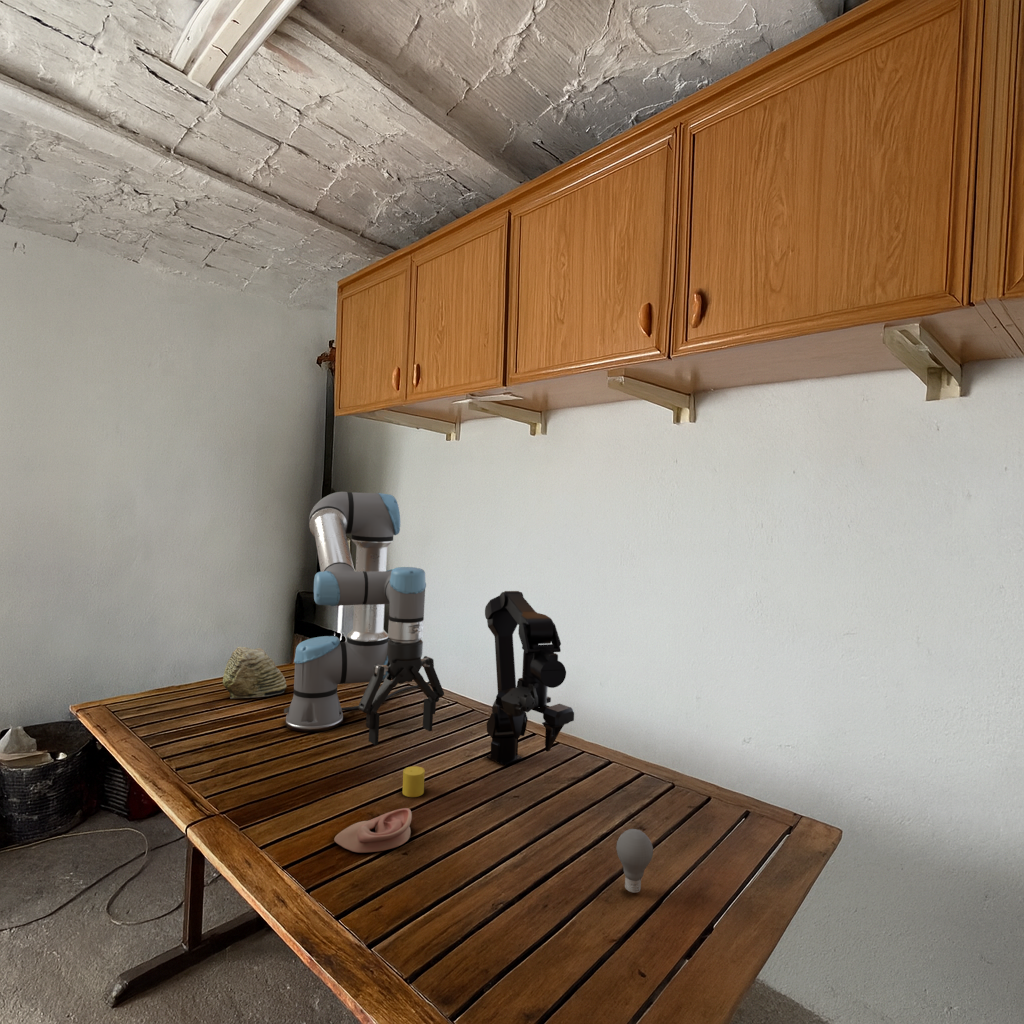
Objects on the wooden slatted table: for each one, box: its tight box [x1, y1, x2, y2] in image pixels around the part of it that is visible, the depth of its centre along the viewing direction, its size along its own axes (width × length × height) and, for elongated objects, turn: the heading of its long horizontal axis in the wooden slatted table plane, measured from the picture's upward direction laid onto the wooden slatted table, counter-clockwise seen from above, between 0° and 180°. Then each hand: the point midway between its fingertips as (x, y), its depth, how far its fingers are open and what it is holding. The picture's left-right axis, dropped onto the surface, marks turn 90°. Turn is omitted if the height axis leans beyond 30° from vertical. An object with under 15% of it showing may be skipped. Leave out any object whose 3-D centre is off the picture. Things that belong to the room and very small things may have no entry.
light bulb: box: [615, 828, 654, 894], centre depth 106 cm, size 6×6×10 cm
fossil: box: [222, 646, 288, 699], centre depth 198 cm, size 9×18×15 cm, turn 132°
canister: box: [401, 765, 426, 798], centre depth 138 cm, size 5×5×5 cm
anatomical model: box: [333, 807, 413, 854], centre depth 119 cm, size 13×4×12 cm
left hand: (401, 735), depth 138 cm, fingers open, 13 cm apart
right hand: (532, 744), depth 140 cm, fingers open, 9 cm apart
